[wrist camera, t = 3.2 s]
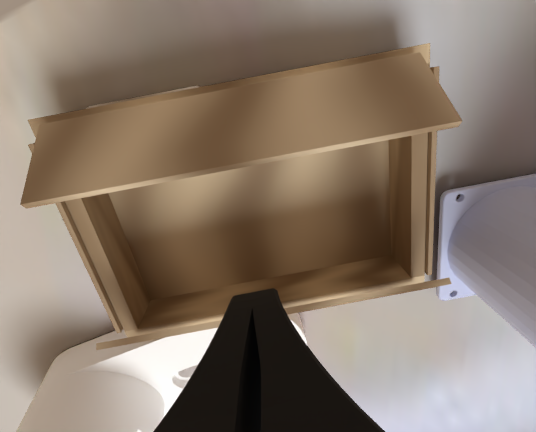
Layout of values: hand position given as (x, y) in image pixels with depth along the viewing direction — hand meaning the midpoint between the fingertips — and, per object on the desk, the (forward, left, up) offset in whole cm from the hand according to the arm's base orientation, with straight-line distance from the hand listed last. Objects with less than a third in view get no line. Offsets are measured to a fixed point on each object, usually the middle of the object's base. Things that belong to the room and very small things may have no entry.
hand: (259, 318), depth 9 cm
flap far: (0, +6, -7) cm, 9 cm away
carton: (0, 0, -10) cm, 10 cm away
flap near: (0, -6, -7) cm, 9 cm away
